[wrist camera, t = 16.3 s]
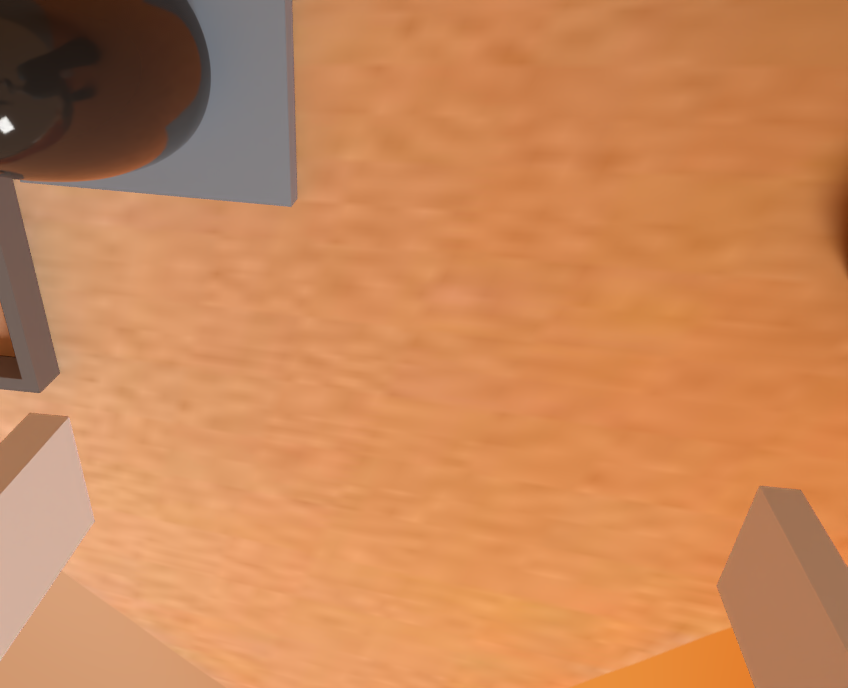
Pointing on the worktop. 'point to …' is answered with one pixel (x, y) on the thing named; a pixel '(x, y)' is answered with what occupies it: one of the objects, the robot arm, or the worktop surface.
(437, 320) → the worktop surface
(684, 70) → the worktop surface
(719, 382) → the worktop surface
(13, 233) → the gray open frame
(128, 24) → the dark brown egg shape
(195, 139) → the slate-blue board
